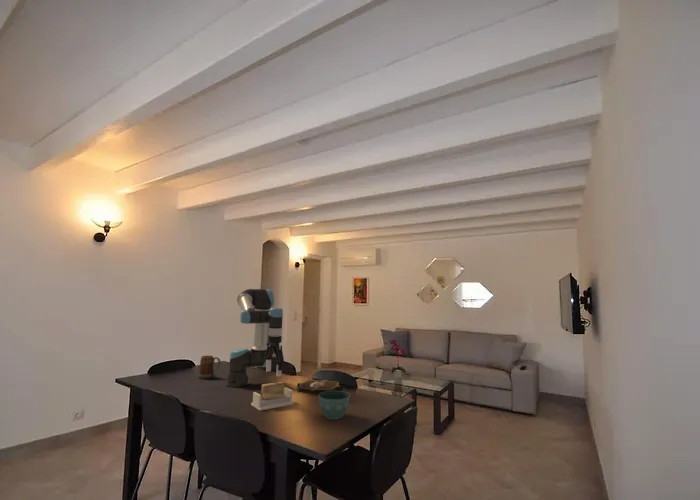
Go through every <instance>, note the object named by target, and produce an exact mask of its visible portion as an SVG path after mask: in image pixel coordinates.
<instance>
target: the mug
mask: <svg viewBox="0 0 700 500" xmlns="http://www.w3.org/2000/svg"><path fill="white" fill-rule="evenodd" d="M215 360H217V362H218V363H217V367H216V368H215V370H214V364H216V362H215ZM220 366H221V359H220V357H218V356H216V357H214V356H213V355H202V356H201V357H200V361H199V372H198V375H197V376H198V379H200V380H208V379H213V378H216V377H217V376H218V374H216V372H217V371H218V370H219V368H220Z"/></svg>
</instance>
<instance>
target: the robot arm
mask: <svg viewBox="0 0 700 500" xmlns="http://www.w3.org/2000/svg"><path fill="white" fill-rule="evenodd" d="M236 303H237V304H238V307H240V310H241V311H240V313H239V315H240V316H239V317H240V318H239V320H240V324H246V325H250V324H254V334H253V335H254V337H253V338H254V339H253V345H252V346H251V348H250V349H249V348H247V347H240V348H236V349H233V350H231V351H230V352H229V353H230V354H229V367H228V369H229V370H228V375H227V378H226V381H225V386H226V387H231V388H238V387H239V388H241V387H246V386H248V385H249V384H250V378H249V375H248V369H249V368H250V369H251V368H265V369H266V370H265V372H266V373H268V372H271V371H272V359H273V358H272V356H273V354H274V355H275V359H276V362H277V363H276V372H275V373H276V376H275V377H282V373H283V372H282V371H283V370H282V367H283V364H285V359H284V353H283V345H280V344H281V343H282V339H283V338H282V335H283V317H284V314H283V308H279V307H274V305H275V297H274V292H273V290H272V289H269V288H247V289H245V290H243V291H241V292H240V293H239V294H238V296H237V298H236Z"/></svg>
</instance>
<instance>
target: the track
mask: <svg viewBox="0 0 700 500" xmlns="http://www.w3.org/2000/svg"><path fill="white" fill-rule="evenodd" d="M294 403H295V402H294V401H293V389H290V388H288V387H285V386H284V397H283V398H277V399H271V400H265V401H261V393H258V392H256V391H254V392H252V402H250V405H251V406H252V407H253V408H255V409H257V410H258V411H265V410H271V409H276V408H281V407H286V406H292V405H294Z"/></svg>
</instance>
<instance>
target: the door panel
mask: <svg viewBox="0 0 700 500" xmlns="http://www.w3.org/2000/svg"><path fill="white" fill-rule="evenodd" d="M284 388H285V382H283V381H278V382H271V383H263V384H261V388H260V389H261V390H260V392H261V393H260V395H261V401H265V400H271V399H277V398H283V397H284Z"/></svg>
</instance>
